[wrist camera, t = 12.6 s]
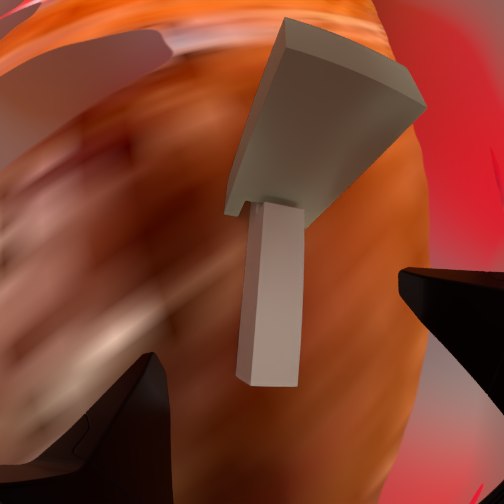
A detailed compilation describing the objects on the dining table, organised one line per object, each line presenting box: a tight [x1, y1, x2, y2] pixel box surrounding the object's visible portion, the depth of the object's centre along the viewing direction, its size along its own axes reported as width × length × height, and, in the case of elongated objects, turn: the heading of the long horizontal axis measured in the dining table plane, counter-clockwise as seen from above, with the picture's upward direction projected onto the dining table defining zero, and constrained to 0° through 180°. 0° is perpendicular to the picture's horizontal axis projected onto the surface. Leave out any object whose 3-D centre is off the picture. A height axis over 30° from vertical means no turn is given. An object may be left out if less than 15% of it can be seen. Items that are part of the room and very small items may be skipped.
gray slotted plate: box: [224, 17, 427, 229], centre depth 14 cm, size 6×3×13 cm, turn 85°
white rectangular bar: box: [236, 202, 304, 387], centre depth 17 cm, size 18×2×4 cm, turn 175°
